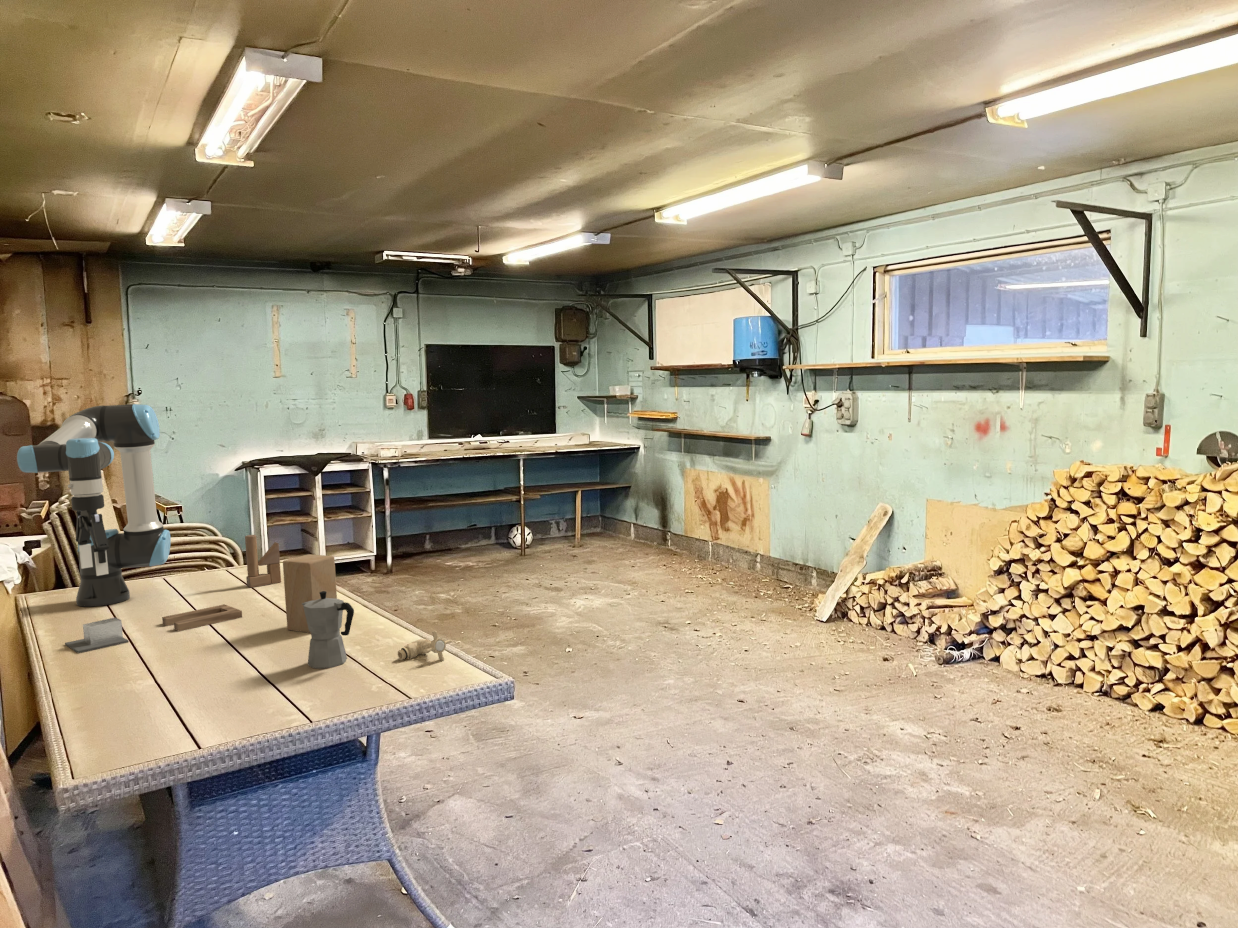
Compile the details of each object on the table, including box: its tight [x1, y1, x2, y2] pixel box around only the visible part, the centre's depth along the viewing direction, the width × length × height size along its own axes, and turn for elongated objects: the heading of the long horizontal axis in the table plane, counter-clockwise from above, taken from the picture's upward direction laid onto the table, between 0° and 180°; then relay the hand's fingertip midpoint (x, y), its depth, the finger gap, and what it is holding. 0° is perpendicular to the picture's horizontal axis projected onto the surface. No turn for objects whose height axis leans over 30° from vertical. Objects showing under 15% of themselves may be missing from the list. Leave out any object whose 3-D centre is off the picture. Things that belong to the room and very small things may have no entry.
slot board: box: [161, 604, 243, 632], centre depth 251 cm, size 13×18×2 cm
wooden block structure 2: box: [244, 534, 282, 589], centre depth 296 cm, size 4×11×18 cm, turn 132°
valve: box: [397, 630, 453, 662], centre depth 210 cm, size 8×12×10 cm
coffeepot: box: [302, 591, 355, 670], centre depth 207 cm, size 15×9×18 cm, turn 68°
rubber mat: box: [64, 637, 129, 654], centre depth 230 cm, size 12×12×1 cm
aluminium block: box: [82, 617, 124, 645], centre depth 232 cm, size 4×8×5 cm, turn 142°
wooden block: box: [282, 553, 338, 634], centre depth 239 cm, size 10×10×20 cm
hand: (94, 571), depth 232 cm, fingers open, 13 cm apart
